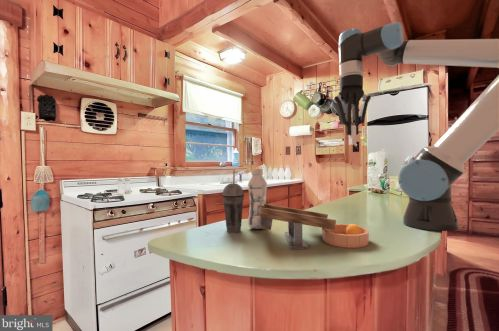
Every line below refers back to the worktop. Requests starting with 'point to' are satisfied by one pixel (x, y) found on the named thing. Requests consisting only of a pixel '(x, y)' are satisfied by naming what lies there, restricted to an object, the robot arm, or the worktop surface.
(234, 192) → the beverage cup
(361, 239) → the bowl
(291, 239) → the stand
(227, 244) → the worktop surface
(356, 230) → the ball
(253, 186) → the plastic bottle
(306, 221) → the trough
